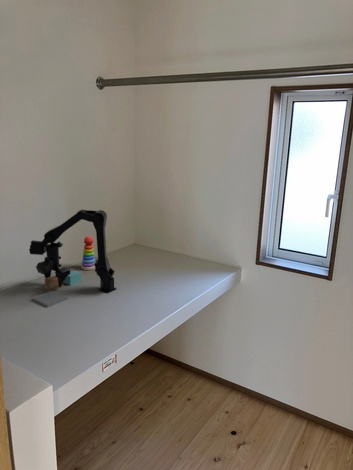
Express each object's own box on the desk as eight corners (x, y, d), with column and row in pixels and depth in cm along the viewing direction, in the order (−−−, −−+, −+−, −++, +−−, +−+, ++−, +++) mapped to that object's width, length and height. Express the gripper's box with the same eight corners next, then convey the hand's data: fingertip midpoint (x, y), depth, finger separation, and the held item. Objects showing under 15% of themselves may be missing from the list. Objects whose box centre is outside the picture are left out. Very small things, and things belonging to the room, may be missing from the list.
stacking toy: (92, 271, 210) (91, 239, 205) (78, 269, 211) (78, 237, 206) (97, 266, 217) (97, 235, 212) (84, 265, 219) (84, 234, 214)
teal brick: (81, 281, 196) (81, 272, 194) (70, 285, 190) (70, 276, 189) (74, 279, 199) (74, 270, 197) (64, 283, 193) (63, 274, 192)
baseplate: (67, 298, 176) (67, 296, 175) (47, 307, 167) (47, 304, 166) (52, 292, 181) (52, 290, 181) (32, 300, 173) (32, 297, 172)
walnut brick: (63, 286, 189) (62, 277, 188) (51, 291, 183) (51, 281, 182) (56, 284, 192) (56, 274, 190) (45, 288, 186) (44, 278, 185)
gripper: (26, 254, 182) (28, 284, 186) (51, 263, 171) (52, 295, 176) (46, 249, 190) (47, 278, 195) (70, 257, 180) (71, 287, 185)
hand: (54, 284), depth 187 cm, fingers open, 9 cm apart
